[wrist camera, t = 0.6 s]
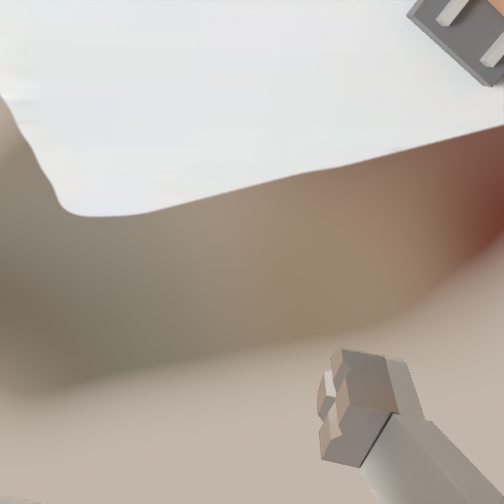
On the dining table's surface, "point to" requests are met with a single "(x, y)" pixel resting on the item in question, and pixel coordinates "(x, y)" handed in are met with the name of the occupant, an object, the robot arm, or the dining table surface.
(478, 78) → the switch board
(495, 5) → the switch tab
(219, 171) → the dining table surface
